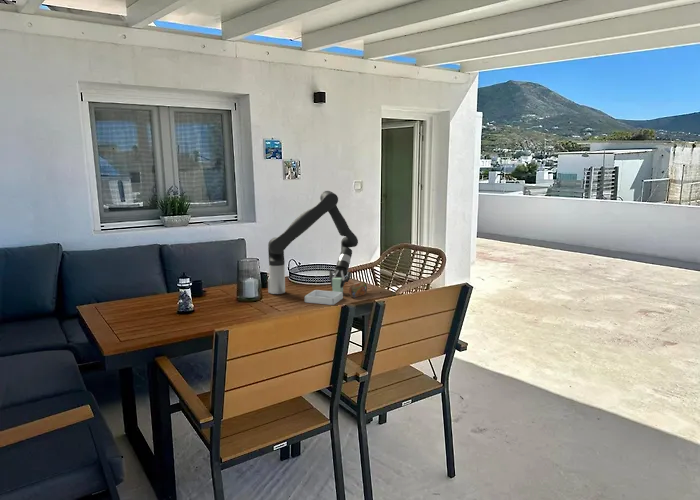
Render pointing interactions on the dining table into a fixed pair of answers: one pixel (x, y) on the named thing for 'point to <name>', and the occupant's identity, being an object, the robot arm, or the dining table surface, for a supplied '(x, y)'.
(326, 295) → the tray
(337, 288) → the green block
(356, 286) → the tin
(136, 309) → the dining table surface
